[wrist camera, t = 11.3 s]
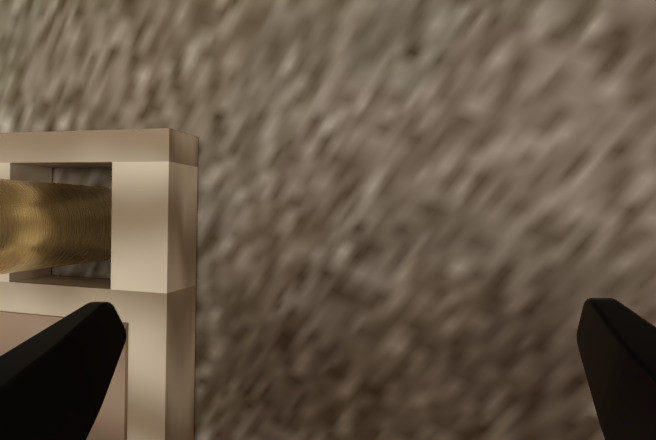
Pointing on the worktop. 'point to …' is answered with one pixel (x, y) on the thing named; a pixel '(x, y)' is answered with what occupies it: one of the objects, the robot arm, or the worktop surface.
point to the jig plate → (123, 271)
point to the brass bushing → (52, 224)
